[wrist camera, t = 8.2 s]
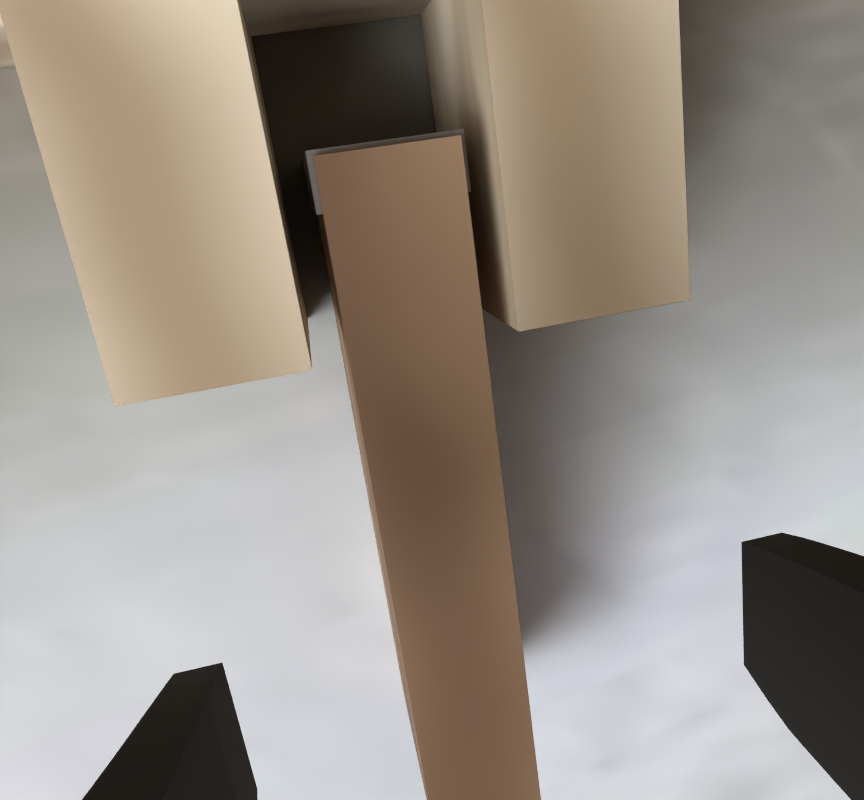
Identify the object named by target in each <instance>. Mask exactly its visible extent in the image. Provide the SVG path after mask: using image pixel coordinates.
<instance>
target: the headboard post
mask: <svg viewBox="0 0 864 800" xmlns="http://www.w3.org/2000/svg"><path fill="white" fill-rule="evenodd" d="M416 15H421V23H422V30H423V37H424V45H425V52H426V60H427V67H428V74H429V82H430V89H431V96H432V104H433V111H434V118H435V126H436V132H443V131H450V130H457V129H464V136H465V145H466V153H467V161H468V170H469V178H470V187H471V192H468V197H469V205H470V214H471V222H472V230H473V239H474V247H475V255H476V264H477V272H478V280H479V289H480V297H481V305H482V308H483V309H484V310H486V311H487V312H489V313H490V314H492V315H494V316H495V317H497V318H498V319H500V320H501V321H503V322H504V323H506V324H507V325H509V326H511V327H512V328H514V329H515V330H517V331H518V332H520V331H525V330H531V329H536V328H541V327H547V326H552V325H558V324H563V323H568V322H574V321H579V320H585V319H590V318H595V317H601V316H606V315H612V314H617V313H622V312H628V311H633V310H639V309H644V308H649V307H655V306H660V305H665V304H671V303H676V302H682V301H687V300H690V280H689V255H688V229H687V204H686V178H685V152H684V127H683V101H682V76H681V50H680V24H679V0H0V68H4V67H12V66H16V70H17V73H18V76H19V80H20V83H21V87H22V90H23V93H24V97H25V100H26V104H27V107H28V111H29V114H30V117H31V121H32V124H33V128H34V131H35V135H36V138H37V141H38V145H39V148H40V152H41V155H42V158H43V162H44V165H45V169H46V172H47V176H48V179H49V182H50V186H51V189H52V193H53V196H54V200H55V203H56V206H57V210H58V213H59V217H60V220H61V223H62V227H63V230H64V234H65V237H66V241H67V244H68V247H69V251H70V254H71V258H72V261H73V264H74V268H75V271H76V275H77V278H78V282H79V285H80V288H81V292H82V295H83V299H84V302H85V306H86V309H87V312H88V316H89V319H90V323H91V326H92V329H93V333H94V336H95V340H96V343H97V347H98V350H99V353H100V357H101V360H102V364H103V367H104V371H105V374H106V377H107V381H108V384H109V388H110V391H111V394H112V398H113V401H114V405H115V407H116V406H121V405H126V404H132V403H137V402H142V401H148V400H153V399H159V398H164V397H169V396H175V395H180V394H186V393H191V392H196V391H202V390H207V389H213V388H218V387H223V386H229V385H234V384H240V383H245V382H250V381H256V380H261V379H266V378H272V377H277V376H283V375H288V374H293V373H299V372H304V371H310V370H312V364H311V353H310V341H309V330H308V319H307V314H306V309H305V304H304V299H303V294H302V289H301V284H300V279H299V274H298V269H297V264H296V259H295V254H294V249H293V244H292V239H291V234H290V229H289V224H288V219H287V214H286V209H285V204H284V199H283V194H282V189H281V184H280V179H279V174H278V169H277V165H276V160H275V155H274V150H273V145H272V140H271V135H270V130H269V125H268V120H267V115H266V110H265V105H264V100H263V95H262V90H261V85H260V80H259V75H258V70H257V65H256V60H255V55H254V50H253V45H252V40H251V36H258V35H265V34H273V33H281V32H289V31H297V30H305V29H313V28H321V27H329V26H337V25H345V24H353V23H361V22H369V21H376V20H384V19H392V18H400V17H408V16H416Z"/></svg>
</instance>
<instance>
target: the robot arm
mask: <svg viewBox="0 0 864 800" xmlns="http://www.w3.org/2000/svg"><path fill="white" fill-rule="evenodd" d="M742 585H743V636H744V665H745V667H746V668H747V670H748V671H749V673H750V674H751V676H752V677H753V679H754V680H755V682H756V683H757V685H758V686H759V688H760V689H761V691H762V692H763V694H764V695H765V697H766V698H767V700H768V701H769V702H770V704H771V705H772V707H773V708H774V709H775V711H776V712H777V714H778V715H779V716H780V718H781V719H782V721H783V722H784V723H785V725H786V726H787V727H788V729H789V730H790V731H791V732H792V733H793V735H794V736H795V737H796V738H797V739H798V740H799V742H800V743H801V744H802V745H803V746H804V747H805V748H806V750H807V751H808V752H809V753H810V754H811V755H812V756H813V757H814V759H815V760H816V761H817V762H818V763H819V764H820V765H821V766H822V768H823V769H824V770H825V771H826V772H827V773H828V774H829V775H830V777H831V778H832V779H833V780H834V781H835V782H836V783H837V784H838V785H839V787H840V788H841V789H842V790H843V791H844V792H845V793H846V794H847V795H848V797H849V798H850V799H851V800H864V556H861V555H858V554H855V553H852V552H848V551H845V550H842V549H839V548H836V547H832V546H829V545H826V544H823V543H819V542H816V541H812V540H809V539H805V538H801V537H798V536H793V535H789V534H785V533H779V534H774V535H770V536H766V537H762V538H757V539H753V540H749V541H744V542H742ZM82 800H257V787H256V783H255V780H254V776H253V772H252V769H251V765H250V761H249V758H248V754H247V751H246V747H245V743H244V740H243V736H242V733H241V729H240V725H239V722H238V718H237V714H236V711H235V707H234V704H233V700H232V696H231V693H230V689H229V685H228V682H227V678H226V675H225V671H224V667H223V664H222V663H219V664H214V665H210V666H206V667H202V668H197V669H193V670H189V671H184V672H180V673H176V674H173V676H172V677H171V678H170V680H169V681H168V682H167V684H166V685H165V687H164V688H163V689H162V691H161V692H160V693H159V695H158V696H157V698H156V699H155V700H154V702H153V703H152V704H151V706H150V707H149V709H148V710H147V711H146V713H145V714H144V716H143V717H142V718H141V720H140V721H139V723H138V724H137V725H136V727H135V728H134V730H133V731H132V732H131V734H130V735H129V737H128V738H127V739H126V741H125V742H124V744H123V745H122V746H121V748H120V749H119V751H118V752H117V753H116V755H115V756H114V758H113V759H112V760H111V762H110V763H109V764H108V766H107V767H106V768H105V770H104V771H103V772H102V774H101V775H100V776H99V778H98V779H97V780H96V782H95V783H94V784H93V786H92V787H91V789H90V790H89V791H88V793H87V794H86V795H85V797H84V798H83V799H82Z"/></svg>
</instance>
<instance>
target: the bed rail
mask: <svg viewBox="0 0 864 800" xmlns="http://www.w3.org/2000/svg"><path fill="white" fill-rule="evenodd" d="M303 166H304V171H305V177H306V182H307V187H308V193H309V198H310V204H311V208H312V209H313V211H314V212H315V213H316V214H317V217H318V223H319V228H320V234H321V239H322V245H323V250H324V256H325V261H326V267H327V272H328V278H329V283H330V289H331V294H332V300H333V306H334V311H335V317H336V322H337V328H338V333H339V339H340V344H341V350H342V355H343V361H344V366H345V372H346V377H347V383H348V388H349V394H350V399H351V405H352V410H353V416H354V421H355V427H356V432H357V438H358V443H359V449H360V454H361V460H362V465H363V471H364V476H365V482H366V487H367V493H368V498H369V504H370V509H371V515H372V520H373V526H374V531H375V537H376V543H377V548H378V554H379V559H380V565H381V570H382V576H383V581H384V587H385V592H386V598H387V603H388V609H389V614H390V620H391V625H392V631H393V636H394V642H395V647H396V653H397V658H398V664H399V669H400V675H401V680H402V686H403V691H404V696H405V701H406V705H407V710H408V715H409V719H410V724H411V729H412V733H413V738H414V743H415V747H416V752H417V756H418V761H419V766H420V770H421V775H422V780H423V784H424V789H425V794H426V798H427V800H541V797H540V789H539V780H538V772H537V764H536V755H535V747H534V739H533V730H532V722H531V714H530V705H529V697H528V689H527V680H526V672H525V664H524V655H523V647H522V639H521V630H520V622H519V614H518V605H517V597H516V589H515V580H514V572H513V564H512V555H511V547H510V539H509V530H508V522H507V514H506V505H505V497H504V489H503V480H502V472H501V464H500V455H499V447H498V439H497V430H496V422H495V414H494V405H493V397H492V389H491V380H490V372H489V364H488V355H487V347H486V339H485V330H484V322H483V314H482V305H481V297H480V289H479V280H478V272H477V264H476V255H475V247H474V239H473V230H472V222H471V214H470V205H469V197H468V192H471V187H470V178H469V170H468V161H467V153H466V145H465V136H464V129H457V130H450V131H443V132H436V133H429V134H422V135H415V136H407V137H400V138H393V139H386V140H379V141H372V142H364V143H357V144H350V145H343V146H336V147H329V148H322V149H314V150H307V151H305V154H304V158H303Z"/></svg>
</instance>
